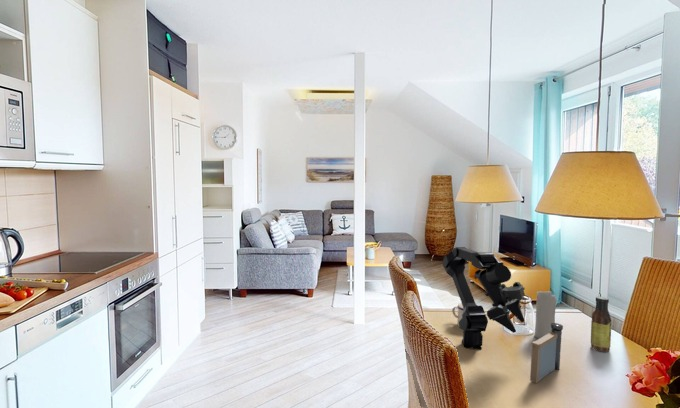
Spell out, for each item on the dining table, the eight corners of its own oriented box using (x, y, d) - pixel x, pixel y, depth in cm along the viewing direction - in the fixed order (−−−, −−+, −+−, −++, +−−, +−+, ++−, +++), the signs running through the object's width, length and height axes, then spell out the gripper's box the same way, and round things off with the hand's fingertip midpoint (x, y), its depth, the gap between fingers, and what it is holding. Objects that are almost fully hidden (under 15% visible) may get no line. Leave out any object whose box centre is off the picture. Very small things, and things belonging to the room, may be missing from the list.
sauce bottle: (613, 353, 138) (616, 301, 136) (594, 351, 139) (597, 300, 138) (604, 346, 144) (607, 296, 143) (586, 344, 145) (589, 294, 144)
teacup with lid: (482, 326, 161) (483, 300, 161) (472, 332, 155) (473, 305, 154) (457, 318, 170) (458, 294, 169) (446, 324, 164) (447, 298, 163)
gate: (549, 366, 126) (551, 331, 125) (555, 369, 125) (557, 333, 124) (530, 380, 117) (532, 342, 117) (536, 383, 116) (538, 344, 115)
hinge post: (550, 369, 125) (552, 326, 124) (546, 364, 129) (549, 322, 128) (562, 370, 125) (564, 327, 124) (558, 365, 128) (560, 323, 127)
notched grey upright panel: (565, 334, 154) (568, 287, 153) (549, 342, 146) (551, 293, 145) (548, 328, 160) (550, 283, 159) (531, 336, 152) (533, 288, 151)
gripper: (502, 285, 119) (532, 330, 115) (520, 269, 133) (547, 308, 129) (474, 298, 126) (502, 340, 122) (494, 281, 140) (519, 319, 136)
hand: (519, 326), depth 127 cm, fingers open, 9 cm apart
